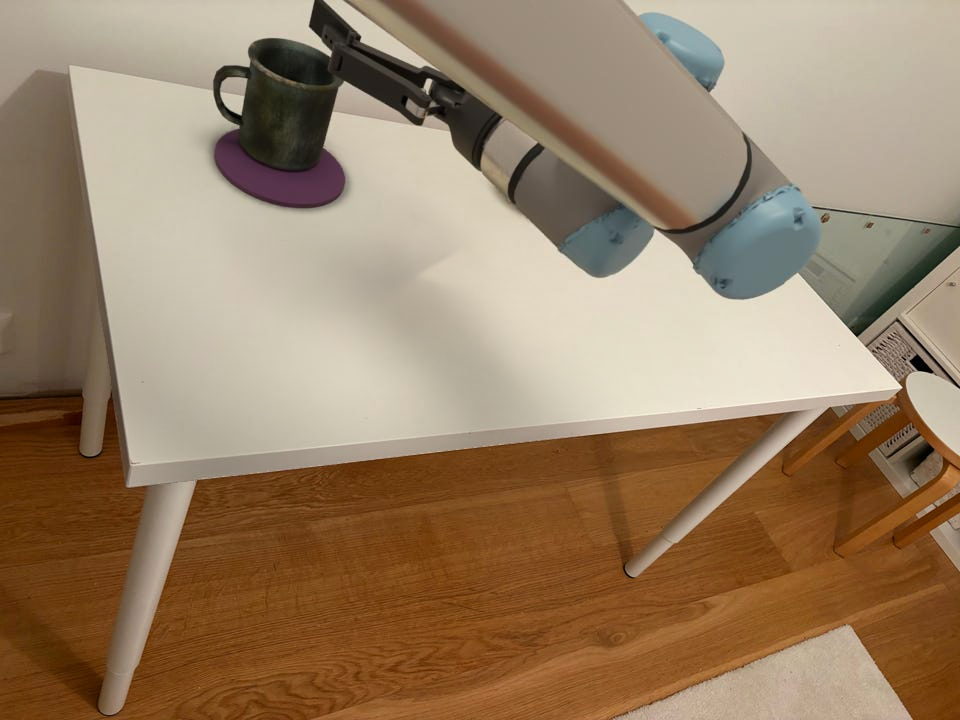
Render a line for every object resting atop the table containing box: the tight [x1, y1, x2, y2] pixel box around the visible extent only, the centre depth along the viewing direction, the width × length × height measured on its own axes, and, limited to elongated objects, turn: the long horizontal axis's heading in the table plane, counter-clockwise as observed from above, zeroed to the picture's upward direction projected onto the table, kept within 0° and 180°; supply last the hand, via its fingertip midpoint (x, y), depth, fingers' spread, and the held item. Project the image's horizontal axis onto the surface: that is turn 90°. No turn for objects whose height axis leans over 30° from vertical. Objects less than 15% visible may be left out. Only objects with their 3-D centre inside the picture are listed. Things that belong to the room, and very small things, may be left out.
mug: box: [212, 37, 345, 170], centre depth 88 cm, size 11×15×12 cm
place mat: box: [214, 128, 346, 209], centre depth 91 cm, size 16×16×1 cm
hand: (372, 15), depth 72 cm, fingers open, 13 cm apart
